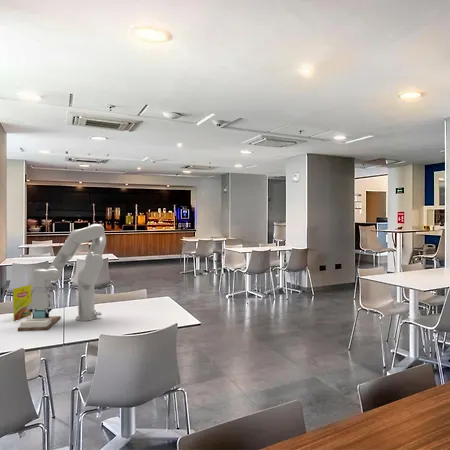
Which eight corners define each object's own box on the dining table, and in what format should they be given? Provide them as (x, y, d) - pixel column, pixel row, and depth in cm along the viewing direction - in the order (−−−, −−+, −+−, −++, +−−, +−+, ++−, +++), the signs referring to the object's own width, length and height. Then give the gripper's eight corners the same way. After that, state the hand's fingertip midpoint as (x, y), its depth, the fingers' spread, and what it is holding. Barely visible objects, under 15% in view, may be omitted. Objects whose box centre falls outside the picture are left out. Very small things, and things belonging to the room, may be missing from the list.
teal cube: (47, 319, 225) (47, 309, 225) (44, 322, 220) (44, 311, 220) (37, 320, 225) (37, 309, 225) (33, 322, 219) (33, 311, 219)
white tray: (51, 322, 219) (51, 317, 219) (46, 326, 212) (46, 321, 211) (25, 323, 218) (25, 318, 218) (20, 327, 210) (20, 322, 210)
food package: (14, 321, 228) (14, 288, 227) (12, 321, 228) (12, 288, 227) (32, 315, 243) (31, 284, 242) (30, 315, 243) (30, 284, 242)
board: (60, 318, 235) (60, 316, 234) (47, 330, 211) (47, 327, 211) (33, 319, 232) (33, 317, 232) (17, 331, 209) (17, 328, 209)
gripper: (57, 288, 227) (58, 317, 227) (27, 288, 224) (27, 318, 225) (53, 290, 219) (54, 320, 220) (22, 291, 217) (22, 322, 217)
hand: (40, 319), depth 222 cm, fingers closed on teal cube, 6 cm apart
